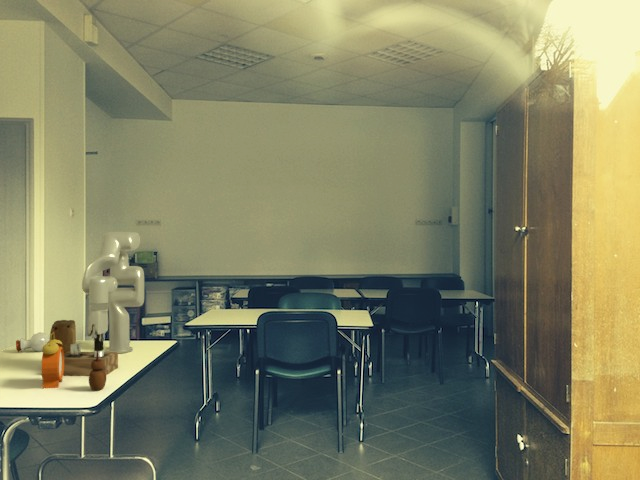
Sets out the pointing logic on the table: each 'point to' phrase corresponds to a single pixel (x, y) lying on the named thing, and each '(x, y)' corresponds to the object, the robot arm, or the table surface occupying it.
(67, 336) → the block
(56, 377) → the alarm clock
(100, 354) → the peg
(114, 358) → the socket block
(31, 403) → the table surface
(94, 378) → the wooden figurine
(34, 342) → the potion bottle
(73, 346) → the peg
